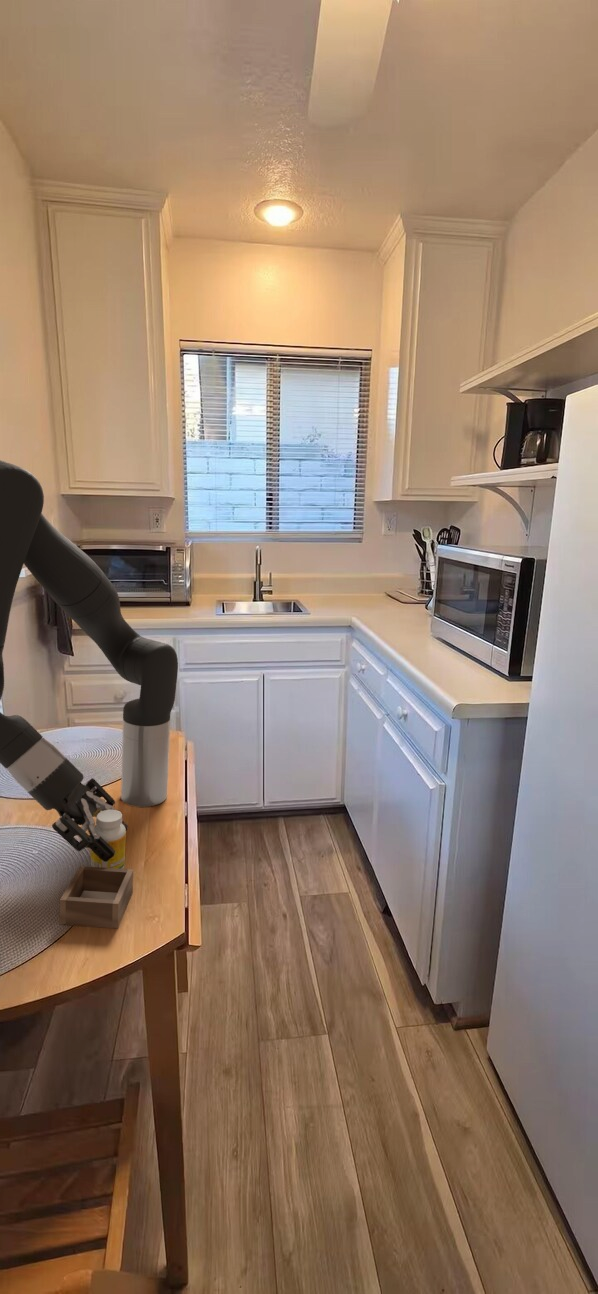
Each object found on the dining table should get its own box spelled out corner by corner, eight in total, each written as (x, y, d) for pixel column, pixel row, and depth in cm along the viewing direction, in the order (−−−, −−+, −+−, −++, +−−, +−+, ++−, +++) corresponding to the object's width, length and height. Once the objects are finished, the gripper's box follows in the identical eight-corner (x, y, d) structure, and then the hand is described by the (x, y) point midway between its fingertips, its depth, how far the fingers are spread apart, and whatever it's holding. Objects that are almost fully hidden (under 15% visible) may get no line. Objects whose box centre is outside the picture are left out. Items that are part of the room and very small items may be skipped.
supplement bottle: (87, 877, 95) (87, 823, 93) (95, 858, 100) (95, 806, 98) (121, 878, 96) (122, 824, 94) (127, 858, 101) (128, 807, 99)
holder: (79, 888, 92) (80, 865, 91) (132, 892, 92) (133, 869, 92) (59, 924, 84) (59, 899, 83) (117, 928, 84) (118, 903, 84)
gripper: (44, 779, 87) (122, 856, 90) (78, 741, 101) (145, 809, 104) (8, 809, 88) (86, 884, 91) (47, 768, 102) (114, 834, 105)
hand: (117, 844), depth 97 cm, fingers open, 7 cm apart
